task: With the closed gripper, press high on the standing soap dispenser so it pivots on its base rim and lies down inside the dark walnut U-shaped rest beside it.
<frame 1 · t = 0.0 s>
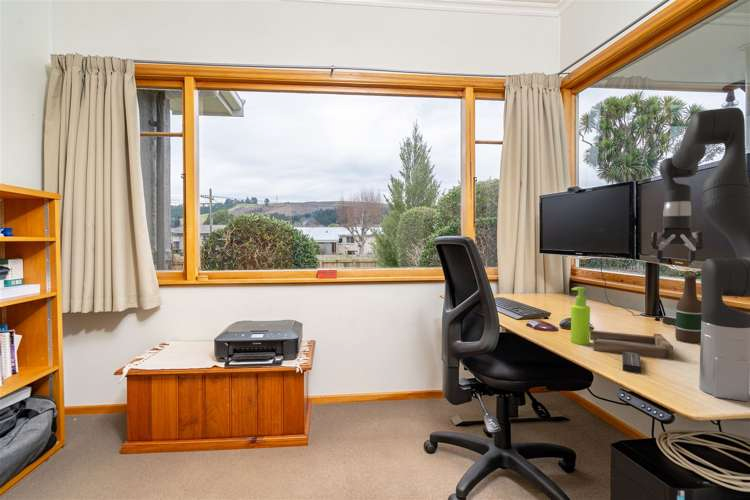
hand: (675, 261, 133), 29 cm above the table, tool pointing down, fingers open, 8 cm apart
multiport hub: (631, 366, 114), on the table
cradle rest: (621, 347, 131), on the table
soap dispenser: (578, 343, 137), on the table
beer bottle: (688, 341, 138), on the table
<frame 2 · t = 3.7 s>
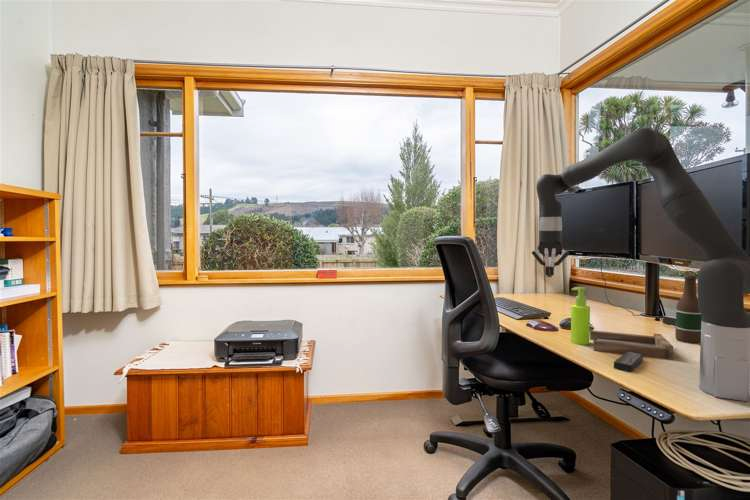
hand: (549, 276, 140), 23 cm above the table, tool pointing down, fingers closed
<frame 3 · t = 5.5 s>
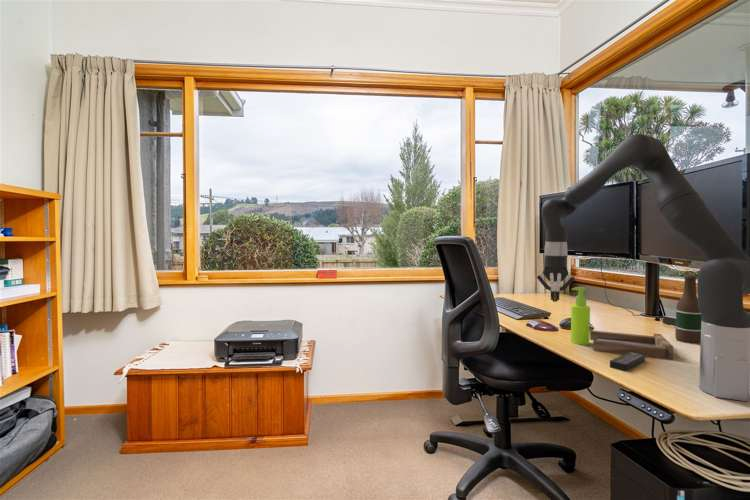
hand: (555, 301, 139), 14 cm above the table, tool pointing down, fingers closed
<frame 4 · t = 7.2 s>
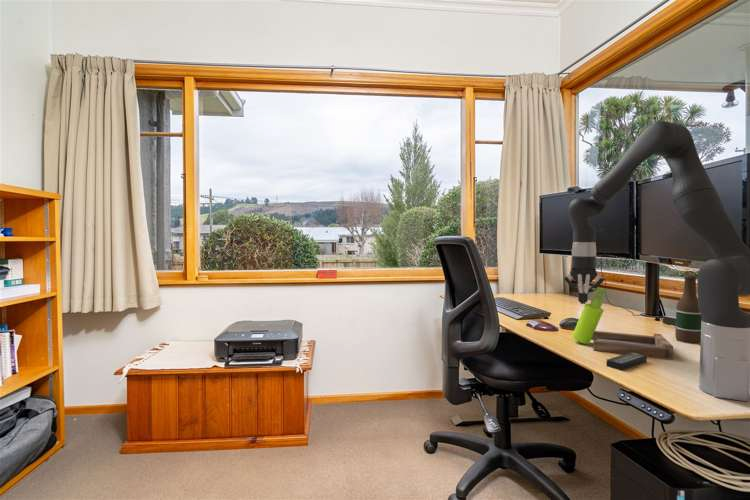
hand: (582, 303, 135), 14 cm above the table, tool pointing down, fingers closed
soap dispenser: (579, 340, 137), point 1 cm above the table, touching gripper
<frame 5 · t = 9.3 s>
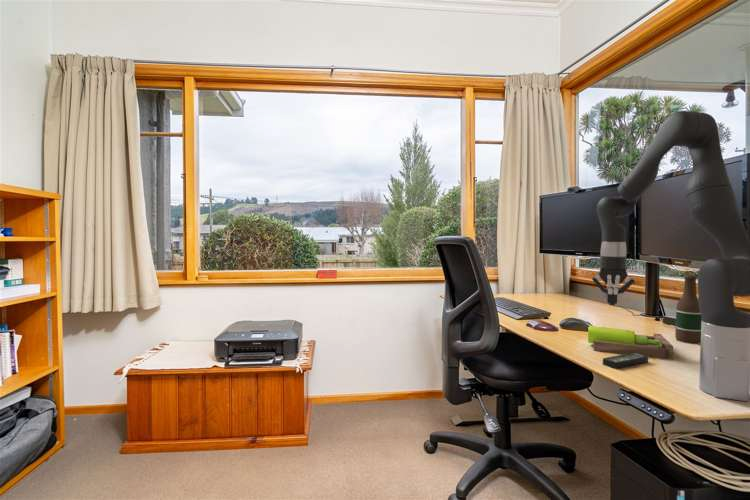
hand: (612, 304, 132), 14 cm above the table, tool pointing down, fingers closed
soap dispenser: (588, 334, 134), point 4 cm above the table, touching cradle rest
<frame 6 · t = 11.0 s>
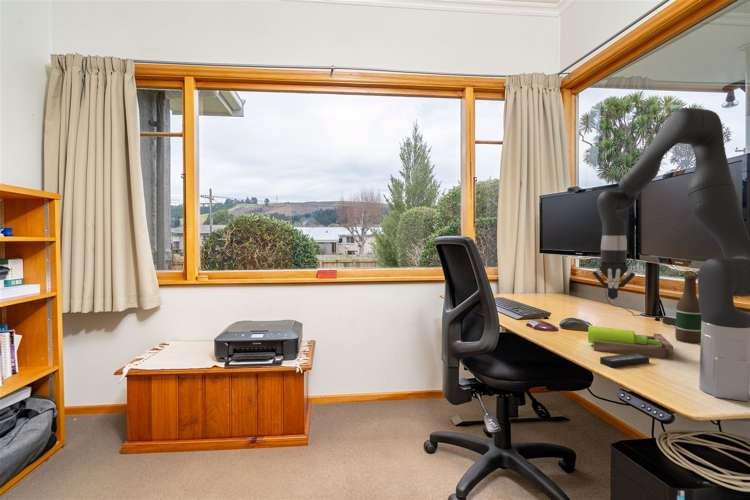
hand: (612, 298, 132), 17 cm above the table, tool pointing down, fingers closed
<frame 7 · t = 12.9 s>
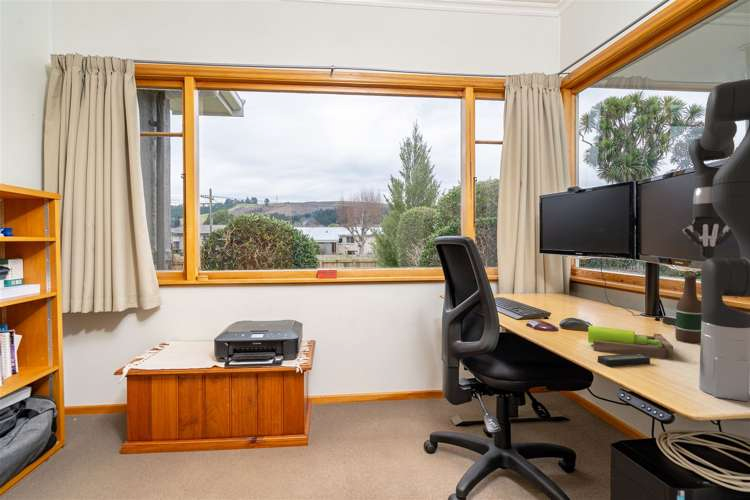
hand: (707, 258, 118), 31 cm above the table, tool pointing down, fingers closed
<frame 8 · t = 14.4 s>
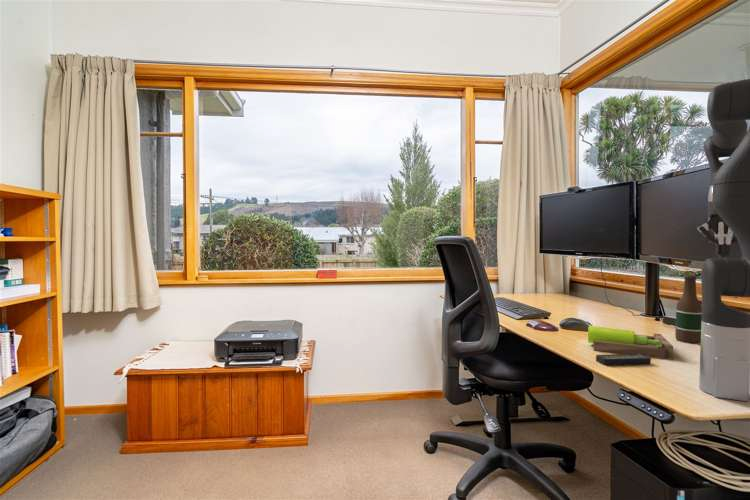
hand: (722, 256, 116), 32 cm above the table, tool pointing down, fingers closed
at the end: soap dispenser tilted 90°; soap dispenser inside the target area on the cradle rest (2.5 cm from its centre), point 3.8 cm above the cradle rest's base; soap dispenser touching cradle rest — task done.
